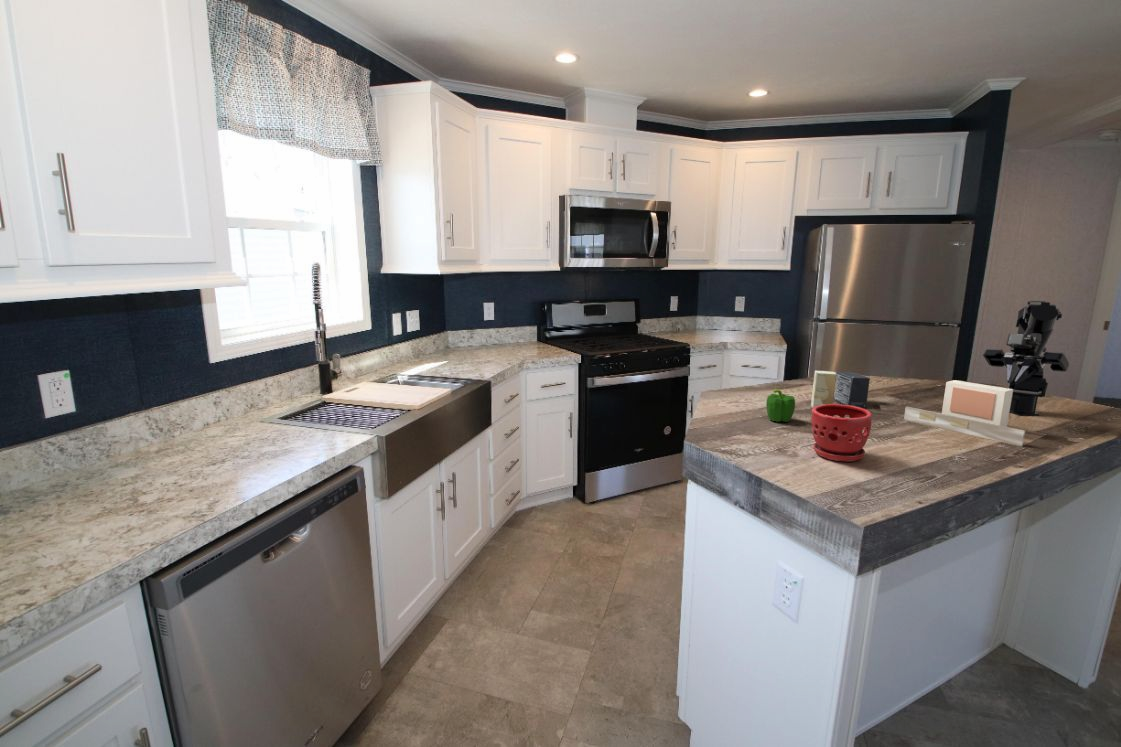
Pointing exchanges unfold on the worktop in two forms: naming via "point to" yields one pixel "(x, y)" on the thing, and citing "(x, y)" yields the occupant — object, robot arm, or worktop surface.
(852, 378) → the small box
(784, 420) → the bell pepper
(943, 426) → the shelf board
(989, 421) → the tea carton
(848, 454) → the plant pot
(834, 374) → the skincare box
